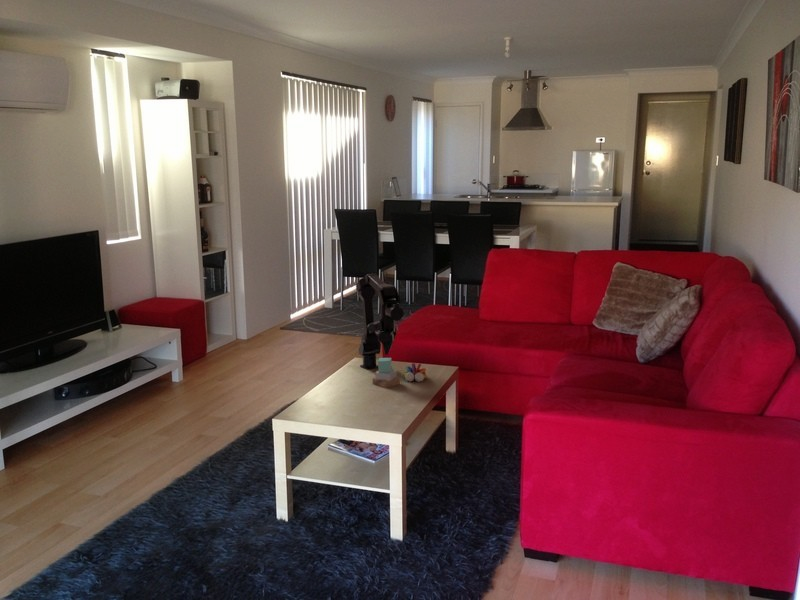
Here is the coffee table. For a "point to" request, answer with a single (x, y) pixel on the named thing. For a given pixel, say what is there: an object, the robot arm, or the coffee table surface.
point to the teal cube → (384, 365)
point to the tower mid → (386, 375)
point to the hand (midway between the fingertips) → (388, 351)
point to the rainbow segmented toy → (415, 373)
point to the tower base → (386, 382)
